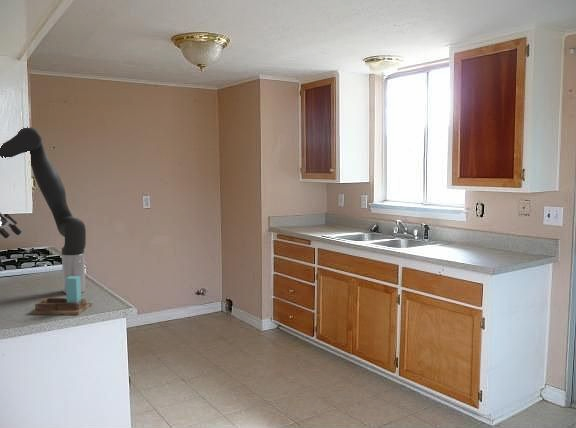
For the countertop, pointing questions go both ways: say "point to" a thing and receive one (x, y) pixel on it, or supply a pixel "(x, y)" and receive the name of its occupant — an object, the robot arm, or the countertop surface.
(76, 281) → the post
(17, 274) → the countertop surface
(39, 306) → the keyhole board
